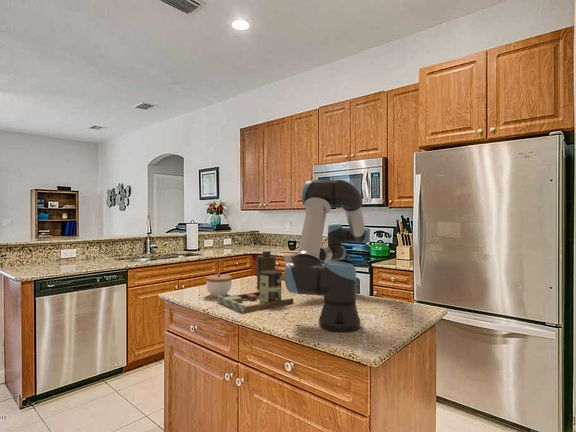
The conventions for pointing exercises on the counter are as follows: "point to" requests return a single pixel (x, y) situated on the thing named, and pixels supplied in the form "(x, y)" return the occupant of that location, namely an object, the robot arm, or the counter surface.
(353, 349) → the counter surface
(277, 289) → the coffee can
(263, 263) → the canister
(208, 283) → the lidded bowl
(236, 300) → the trap lane
